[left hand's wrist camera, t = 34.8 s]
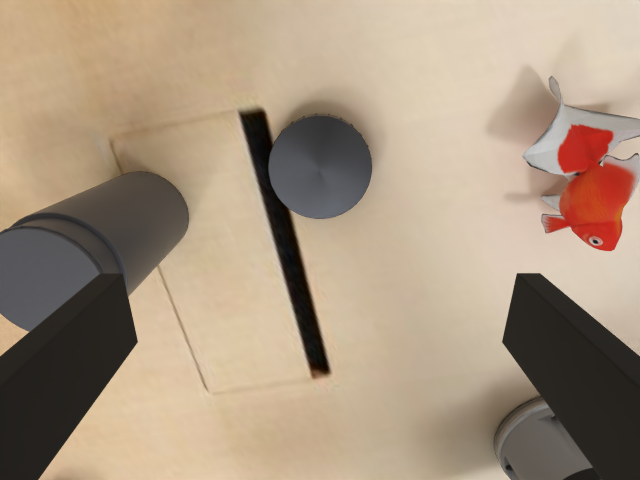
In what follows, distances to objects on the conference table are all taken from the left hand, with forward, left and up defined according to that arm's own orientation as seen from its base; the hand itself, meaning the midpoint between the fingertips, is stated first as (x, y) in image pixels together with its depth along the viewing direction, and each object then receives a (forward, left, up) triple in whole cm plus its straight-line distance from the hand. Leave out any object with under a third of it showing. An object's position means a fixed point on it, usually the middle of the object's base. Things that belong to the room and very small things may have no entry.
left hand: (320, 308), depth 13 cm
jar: (+14, +12, -26) cm, 32 cm away
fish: (-20, -10, -26) cm, 35 cm away
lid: (0, 0, -24) cm, 24 cm away
